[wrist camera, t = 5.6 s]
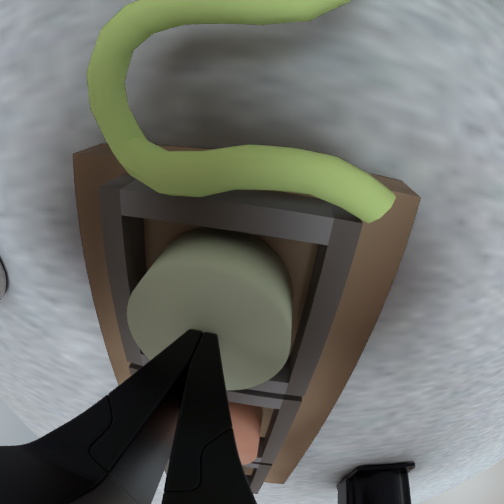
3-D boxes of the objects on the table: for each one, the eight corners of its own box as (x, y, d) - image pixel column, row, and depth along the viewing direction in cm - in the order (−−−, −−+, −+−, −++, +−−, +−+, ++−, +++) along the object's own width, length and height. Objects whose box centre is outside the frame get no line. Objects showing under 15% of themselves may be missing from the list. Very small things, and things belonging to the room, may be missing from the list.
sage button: (305, 239, 9) (307, 284, 7) (279, 350, 12) (275, 400, 10) (153, 216, 10) (116, 252, 8) (161, 328, 12) (138, 371, 10)
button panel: (401, 180, 10) (439, 214, 7) (285, 465, 22) (282, 498, 19) (101, 143, 11) (46, 164, 8) (155, 440, 23) (144, 471, 20)
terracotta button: (269, 391, 13) (263, 436, 11) (256, 436, 16) (251, 472, 14) (167, 371, 14) (150, 412, 11) (175, 420, 16) (163, 453, 14)
